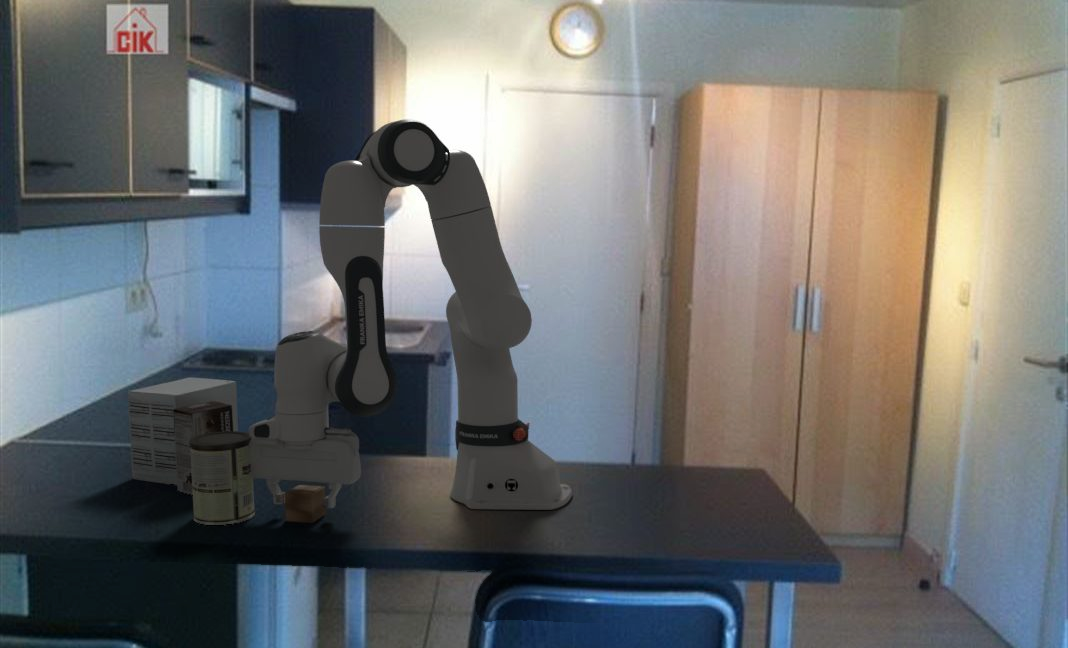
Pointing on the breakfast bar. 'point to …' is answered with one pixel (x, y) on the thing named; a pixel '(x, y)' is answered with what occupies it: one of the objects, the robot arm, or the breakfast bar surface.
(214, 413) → the coffee box
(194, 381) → the supplement box
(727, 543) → the breakfast bar surface
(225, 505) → the coffee can
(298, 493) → the walnut cube
